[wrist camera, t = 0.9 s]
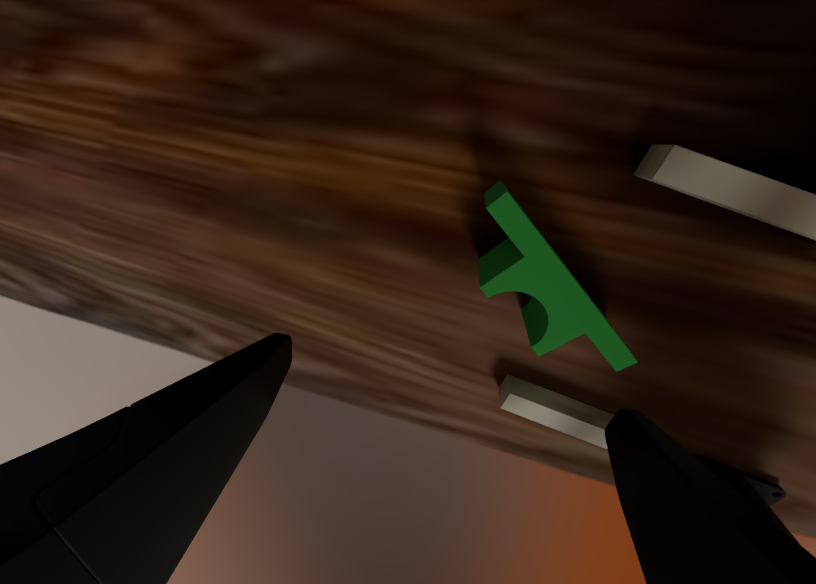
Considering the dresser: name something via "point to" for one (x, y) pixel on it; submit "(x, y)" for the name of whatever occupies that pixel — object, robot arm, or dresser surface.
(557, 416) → the slot rails
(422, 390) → the dresser surface
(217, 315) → the dresser surface
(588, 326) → the pipe clamp
